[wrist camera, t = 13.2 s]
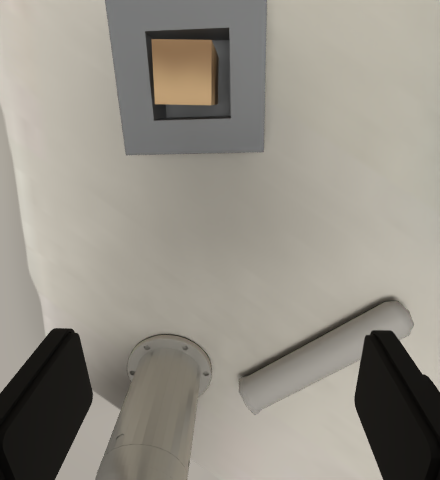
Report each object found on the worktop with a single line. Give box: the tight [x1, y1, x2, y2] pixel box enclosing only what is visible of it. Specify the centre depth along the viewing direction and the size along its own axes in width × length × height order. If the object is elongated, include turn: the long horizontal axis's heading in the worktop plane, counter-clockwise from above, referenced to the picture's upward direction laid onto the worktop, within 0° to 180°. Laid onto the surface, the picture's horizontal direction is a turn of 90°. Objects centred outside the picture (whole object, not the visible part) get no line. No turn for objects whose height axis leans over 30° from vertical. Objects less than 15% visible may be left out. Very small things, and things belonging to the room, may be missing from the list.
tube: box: [239, 301, 414, 415], centre depth 46 cm, size 5×5×25 cm
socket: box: [105, 0, 267, 155], centre depth 32 cm, size 13×13×7 cm
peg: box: [151, 39, 219, 105], centre depth 30 cm, size 4×4×10 cm
